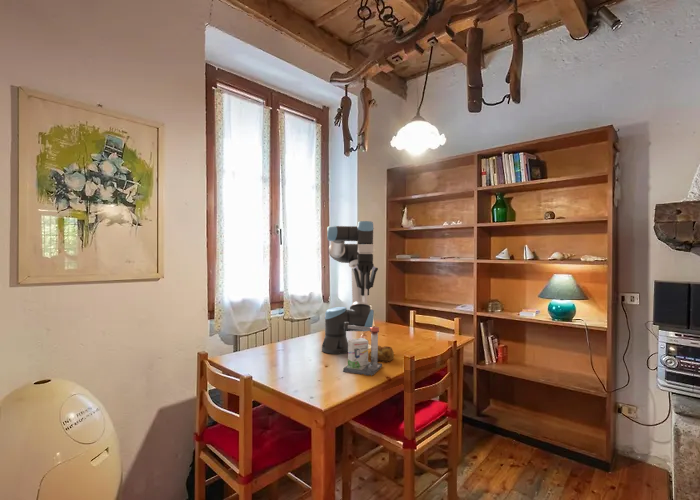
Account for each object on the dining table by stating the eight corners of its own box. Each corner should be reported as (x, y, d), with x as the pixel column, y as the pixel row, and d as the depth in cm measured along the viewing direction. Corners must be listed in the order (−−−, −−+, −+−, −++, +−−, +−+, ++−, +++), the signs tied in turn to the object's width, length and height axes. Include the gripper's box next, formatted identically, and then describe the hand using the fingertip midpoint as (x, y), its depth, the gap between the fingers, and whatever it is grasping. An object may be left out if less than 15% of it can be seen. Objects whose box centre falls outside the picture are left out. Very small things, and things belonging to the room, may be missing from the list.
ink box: (363, 362, 179) (363, 337, 179) (368, 365, 174) (368, 340, 174) (347, 364, 175) (347, 339, 175) (352, 367, 170) (352, 342, 170)
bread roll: (366, 360, 187) (366, 344, 187) (373, 355, 196) (373, 340, 196) (390, 364, 182) (390, 347, 182) (396, 358, 191) (396, 343, 191)
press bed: (343, 371, 170) (343, 332, 170) (354, 362, 183) (355, 326, 183) (373, 376, 164) (374, 336, 164) (383, 366, 177) (383, 329, 177)
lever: (377, 335, 169) (377, 326, 169) (342, 331, 177) (342, 322, 177) (380, 333, 172) (380, 324, 172) (346, 329, 180) (346, 321, 180)
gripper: (374, 253, 185) (373, 300, 185) (349, 253, 180) (349, 301, 180) (380, 253, 178) (380, 302, 178) (355, 253, 173) (355, 304, 173)
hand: (364, 302), depth 179 cm, fingers closed
